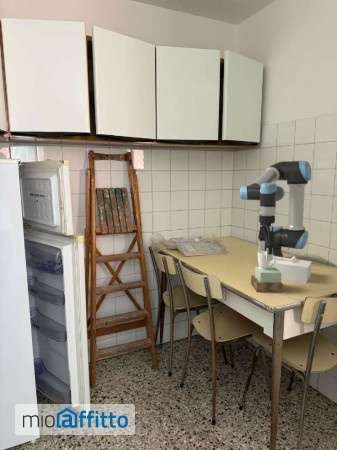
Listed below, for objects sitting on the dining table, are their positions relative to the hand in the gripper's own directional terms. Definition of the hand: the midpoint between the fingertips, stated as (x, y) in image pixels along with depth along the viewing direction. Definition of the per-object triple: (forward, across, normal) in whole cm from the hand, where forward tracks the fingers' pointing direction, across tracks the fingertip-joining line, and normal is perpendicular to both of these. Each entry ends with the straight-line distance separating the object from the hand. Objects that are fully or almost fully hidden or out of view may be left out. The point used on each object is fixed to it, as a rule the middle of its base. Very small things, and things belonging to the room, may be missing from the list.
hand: (265, 256), depth 154 cm
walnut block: (+16, +2, 0) cm, 16 cm away
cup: (+6, 0, 0) cm, 6 cm away
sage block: (+11, +2, +1) cm, 11 cm away
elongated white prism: (+16, -18, +17) cm, 30 cm away
